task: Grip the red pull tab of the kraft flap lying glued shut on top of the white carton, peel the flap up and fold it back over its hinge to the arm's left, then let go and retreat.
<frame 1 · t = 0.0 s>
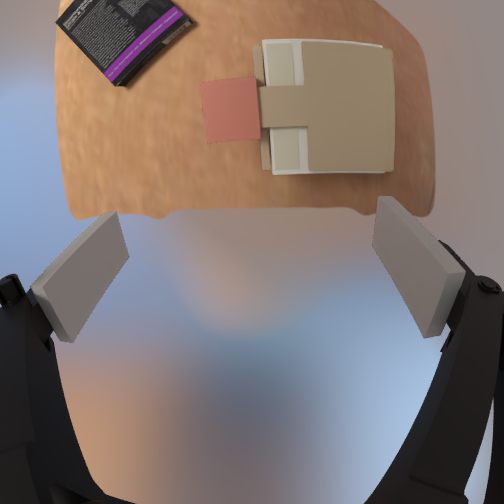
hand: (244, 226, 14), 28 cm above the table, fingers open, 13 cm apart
flap: (303, 105, 24), point 13 cm above the table, hinge at 0.0°
box: (122, 19, 28), on the table
carton: (310, 103, 35), on the table
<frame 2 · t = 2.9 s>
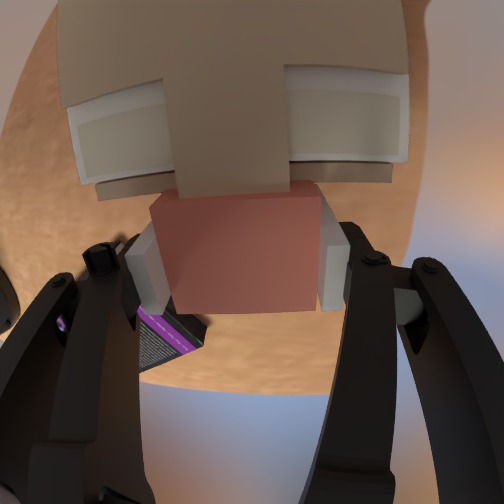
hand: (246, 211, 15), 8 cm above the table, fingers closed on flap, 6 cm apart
flap: (223, 76, 8), point 13 cm above the table, hinge at 0.0°, touching carton, gripper
box: (117, 316, 33), on the table
carton: (243, 58, 18), on the table
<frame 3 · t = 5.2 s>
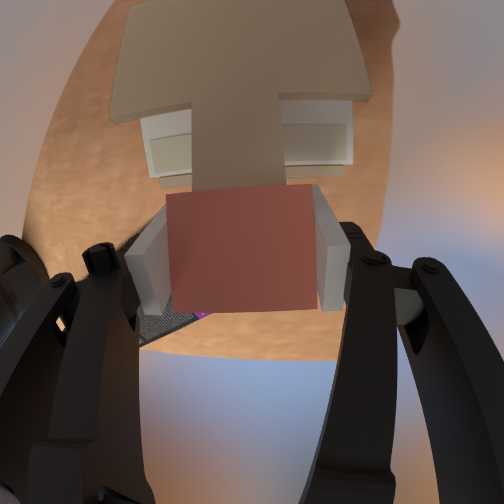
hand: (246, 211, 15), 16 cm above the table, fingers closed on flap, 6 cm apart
flap: (235, 104, 12), point 17 cm above the table, hinge at 27.2°, touching gripper
box: (143, 289, 41), on the table
carton: (250, 86, 26), on the table
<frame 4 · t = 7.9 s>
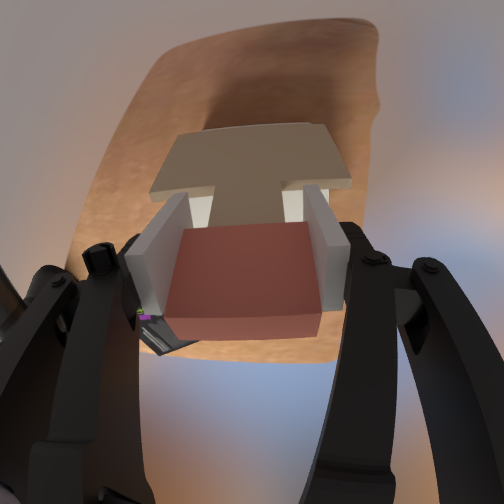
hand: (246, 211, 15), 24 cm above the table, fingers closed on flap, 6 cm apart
flap: (248, 190, 17), point 21 cm above the table, hinge at 73.1°, touching gripper
box: (172, 309, 52), on the table
carton: (258, 167, 38), on the table
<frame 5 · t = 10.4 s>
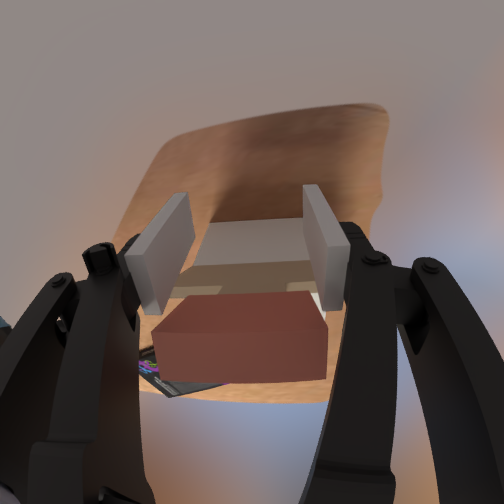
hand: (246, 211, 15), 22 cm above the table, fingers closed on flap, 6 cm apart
flap: (253, 291, 18), point 21 cm above the table, hinge at 113.1°, touching gripper
box: (181, 361, 56), on the table
carton: (263, 257, 42), on the table
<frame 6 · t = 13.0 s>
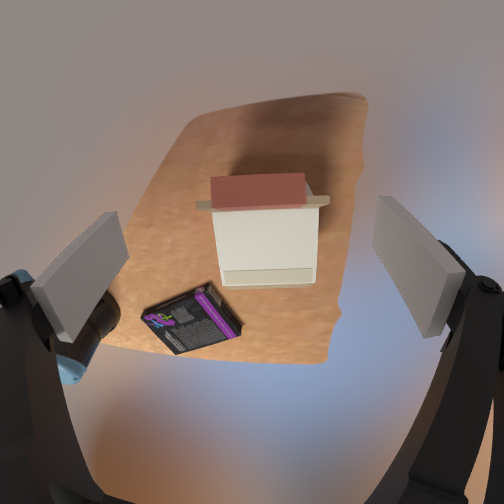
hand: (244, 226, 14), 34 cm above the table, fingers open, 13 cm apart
flap: (262, 201, 27), point 21 cm above the table, hinge at 114.7°
box: (191, 317, 65), on the table
carton: (267, 215, 50), on the table
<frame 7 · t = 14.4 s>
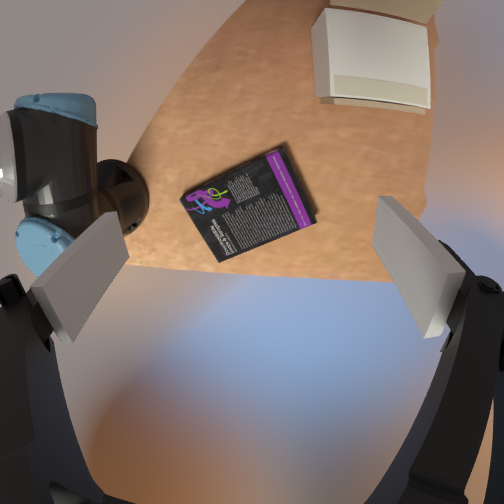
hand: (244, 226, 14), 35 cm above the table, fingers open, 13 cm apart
box: (249, 203, 50), on the table
carton: (355, 65, 36), on the table
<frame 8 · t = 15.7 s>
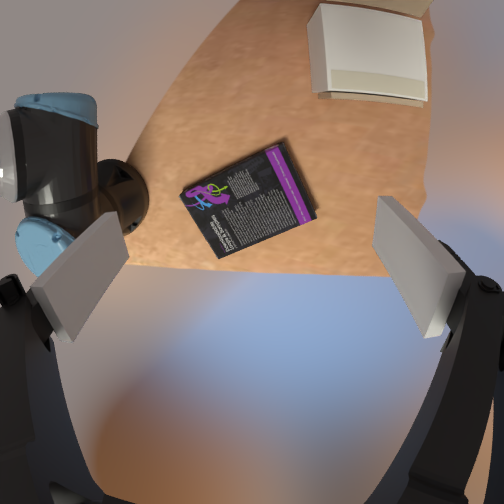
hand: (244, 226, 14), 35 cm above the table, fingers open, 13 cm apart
box: (248, 199, 50), on the table
carton: (352, 60, 36), on the table
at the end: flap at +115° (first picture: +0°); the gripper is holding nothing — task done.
